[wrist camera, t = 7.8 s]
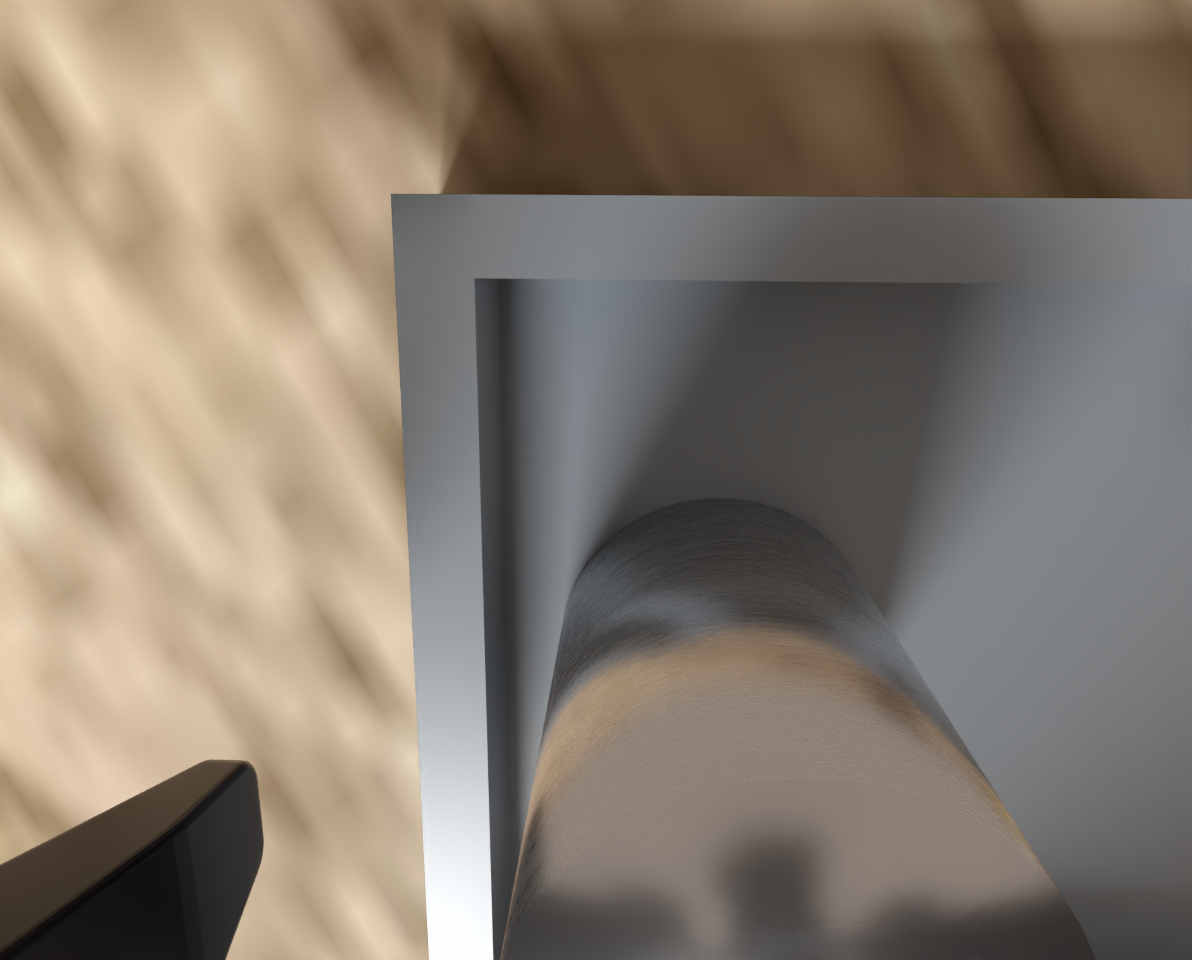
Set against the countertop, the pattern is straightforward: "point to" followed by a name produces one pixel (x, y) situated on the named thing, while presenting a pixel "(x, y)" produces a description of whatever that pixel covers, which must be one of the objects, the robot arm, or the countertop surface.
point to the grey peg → (759, 770)
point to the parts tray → (819, 486)
